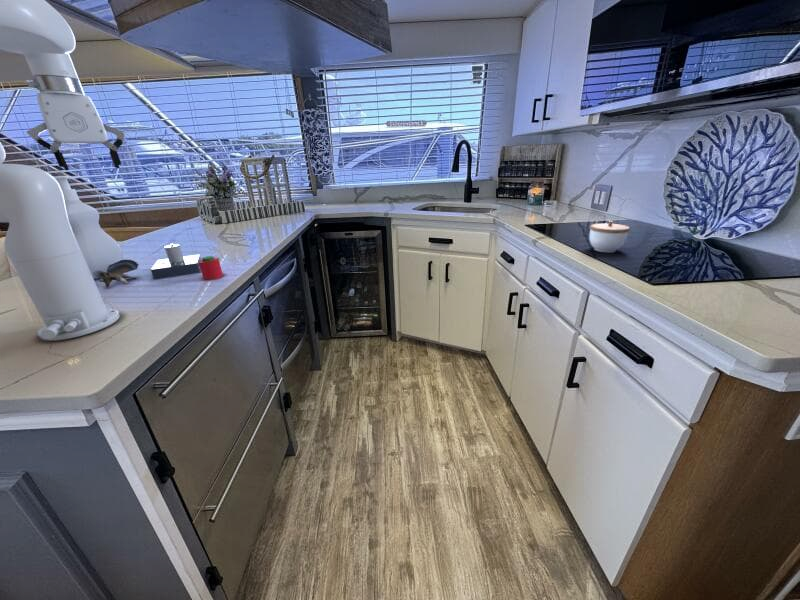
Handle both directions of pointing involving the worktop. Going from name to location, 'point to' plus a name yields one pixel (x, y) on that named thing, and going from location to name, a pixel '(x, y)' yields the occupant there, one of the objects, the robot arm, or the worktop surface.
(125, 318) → the worktop surface
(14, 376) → the worktop surface
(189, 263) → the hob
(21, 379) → the worktop surface
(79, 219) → the soap bottle
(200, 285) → the worktop surface
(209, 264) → the strawberry toy
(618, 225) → the trinket box
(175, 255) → the knob
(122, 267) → the squirrel figurine
